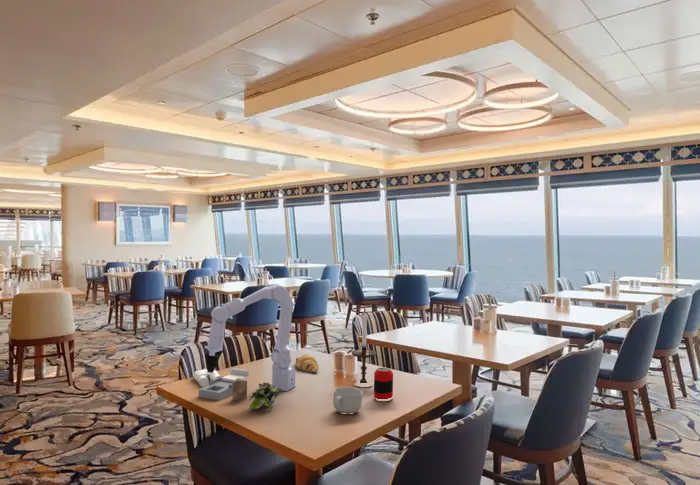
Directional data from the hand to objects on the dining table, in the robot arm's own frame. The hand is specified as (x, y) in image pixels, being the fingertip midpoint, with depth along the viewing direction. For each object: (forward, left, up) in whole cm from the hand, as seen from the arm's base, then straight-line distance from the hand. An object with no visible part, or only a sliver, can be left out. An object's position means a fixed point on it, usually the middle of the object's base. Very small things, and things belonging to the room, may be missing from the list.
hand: (211, 370), depth 196 cm
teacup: (-57, -4, -11) cm, 58 cm away
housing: (-2, -4, -10) cm, 11 cm away
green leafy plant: (-28, +4, -11) cm, 30 cm away
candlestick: (-51, -40, -11) cm, 66 cm away
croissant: (-16, -53, -11) cm, 57 cm away
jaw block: (-13, -1, -10) cm, 16 cm away
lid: (-2, -14, -7) cm, 16 cm away
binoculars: (+14, -16, -11) cm, 24 cm away
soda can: (-65, -25, -11) cm, 70 cm away
